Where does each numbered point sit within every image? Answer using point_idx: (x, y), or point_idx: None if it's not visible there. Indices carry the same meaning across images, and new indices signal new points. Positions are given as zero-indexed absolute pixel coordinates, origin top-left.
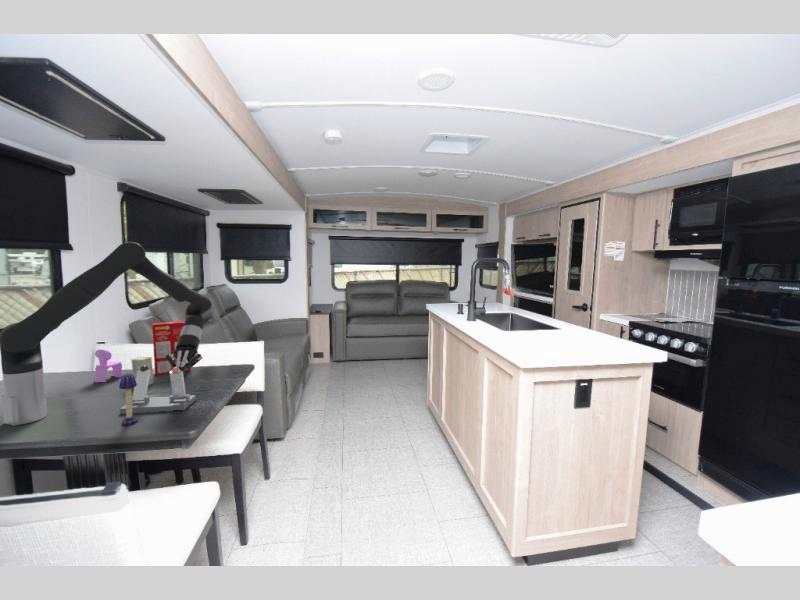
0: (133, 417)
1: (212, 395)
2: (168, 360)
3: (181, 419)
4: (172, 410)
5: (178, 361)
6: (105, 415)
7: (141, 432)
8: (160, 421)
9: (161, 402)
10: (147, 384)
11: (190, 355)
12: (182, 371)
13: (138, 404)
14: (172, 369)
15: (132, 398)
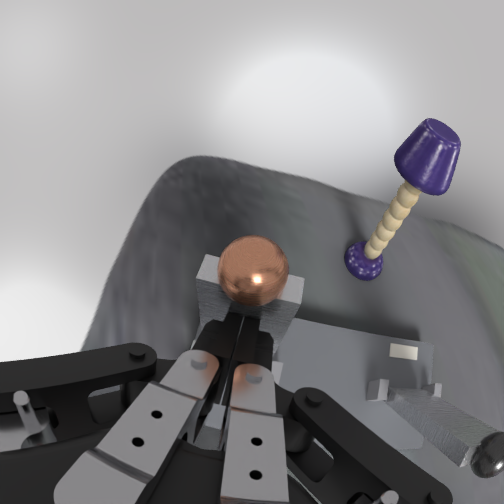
0: (359, 252)
1: None
2: (391, 451)
3: (212, 227)
4: None
5: (255, 413)
6: (451, 350)
7: (303, 188)
8: (274, 237)
9: (312, 370)
10: (417, 420)
11: (72, 446)
12: (198, 276)
13: (394, 374)
14: (280, 248)
15: (428, 392)
